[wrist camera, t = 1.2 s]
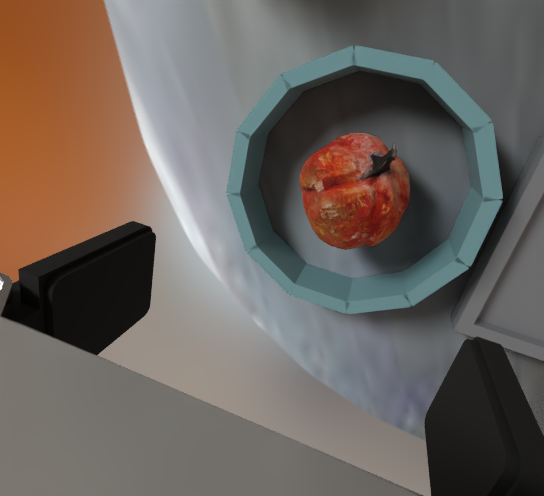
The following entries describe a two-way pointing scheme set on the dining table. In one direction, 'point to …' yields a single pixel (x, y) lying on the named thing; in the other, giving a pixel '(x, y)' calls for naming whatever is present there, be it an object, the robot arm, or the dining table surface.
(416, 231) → the dining table surface
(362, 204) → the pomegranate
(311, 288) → the teal polygonal ring
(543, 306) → the tray
